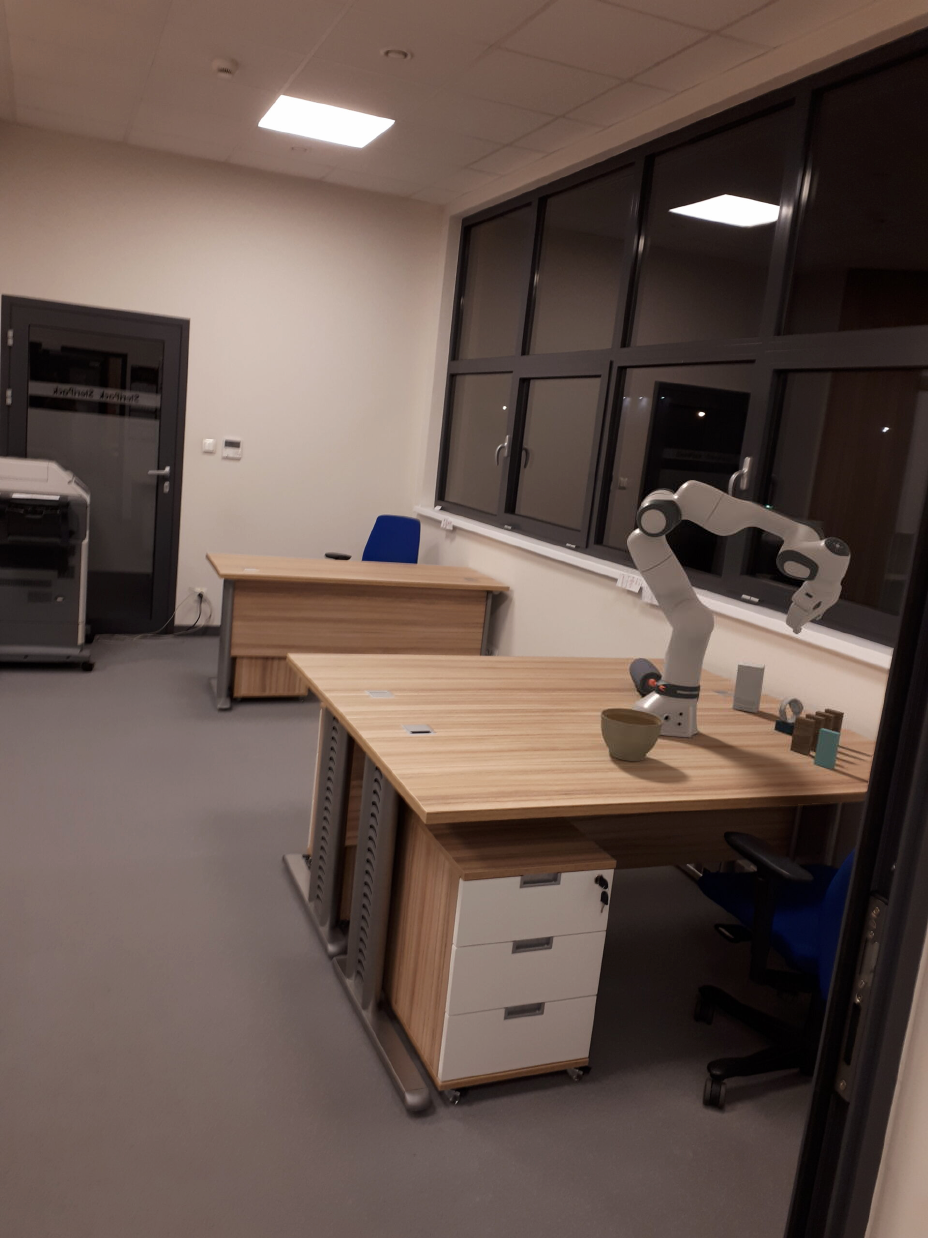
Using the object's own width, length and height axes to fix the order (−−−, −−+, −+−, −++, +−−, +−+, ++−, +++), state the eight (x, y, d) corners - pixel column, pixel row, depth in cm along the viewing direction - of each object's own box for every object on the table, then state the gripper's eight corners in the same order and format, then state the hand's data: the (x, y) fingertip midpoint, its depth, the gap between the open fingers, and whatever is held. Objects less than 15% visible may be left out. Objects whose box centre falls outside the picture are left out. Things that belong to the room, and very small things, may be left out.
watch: (802, 733, 293) (808, 699, 291) (785, 735, 289) (791, 700, 287) (787, 728, 298) (793, 694, 296) (770, 730, 293) (776, 695, 291)
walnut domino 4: (835, 745, 283) (841, 713, 281) (819, 741, 287) (824, 709, 285) (838, 744, 285) (844, 712, 283) (822, 740, 288) (827, 708, 286)
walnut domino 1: (806, 755, 269) (812, 721, 268) (790, 750, 273) (795, 716, 271) (809, 754, 271) (815, 720, 269) (793, 749, 274) (799, 715, 272)
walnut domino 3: (826, 748, 278) (832, 716, 277) (809, 744, 282) (815, 711, 280) (829, 747, 280) (834, 715, 278) (812, 743, 283) (818, 710, 282)
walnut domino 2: (816, 752, 274) (822, 718, 272) (800, 747, 277) (805, 714, 276) (819, 751, 275) (825, 717, 274) (803, 746, 279) (808, 713, 277)
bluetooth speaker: (663, 701, 316) (668, 672, 314) (635, 698, 316) (640, 668, 314) (651, 685, 338) (655, 658, 337) (625, 682, 338) (629, 655, 337)
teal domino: (831, 769, 258) (837, 734, 256) (813, 764, 261) (819, 729, 260) (834, 768, 259) (840, 733, 258) (816, 762, 263) (823, 728, 261)
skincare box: (759, 710, 318) (766, 665, 316) (756, 714, 312) (764, 668, 310) (733, 705, 322) (741, 660, 319) (730, 708, 316) (738, 663, 313)
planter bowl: (615, 742, 260) (620, 704, 258) (668, 759, 250) (674, 719, 248) (583, 752, 247) (589, 712, 246) (638, 770, 238) (644, 728, 236)
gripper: (833, 568, 269) (819, 604, 279) (788, 598, 260) (775, 634, 269) (852, 580, 266) (837, 616, 276) (807, 611, 256) (793, 646, 266)
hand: (806, 625), depth 272 cm, fingers open, 8 cm apart
